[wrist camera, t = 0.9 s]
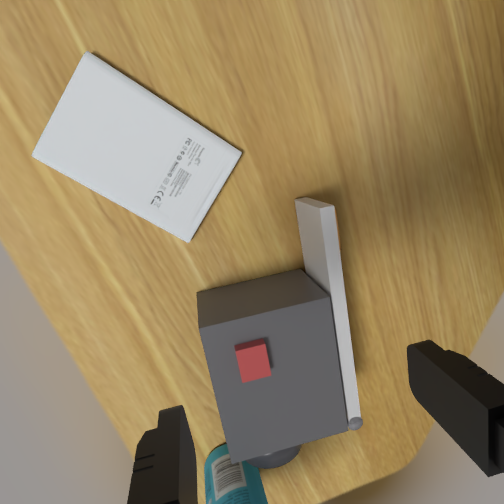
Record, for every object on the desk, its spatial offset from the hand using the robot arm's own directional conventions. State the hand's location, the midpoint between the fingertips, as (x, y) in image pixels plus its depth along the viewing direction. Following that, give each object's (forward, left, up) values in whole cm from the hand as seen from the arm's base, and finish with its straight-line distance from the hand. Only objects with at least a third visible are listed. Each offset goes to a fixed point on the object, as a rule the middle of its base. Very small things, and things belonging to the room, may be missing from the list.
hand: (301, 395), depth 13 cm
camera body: (+9, +1, -19) cm, 21 cm away
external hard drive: (-9, -5, -20) cm, 22 cm away
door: (+5, +6, -18) cm, 20 cm away
